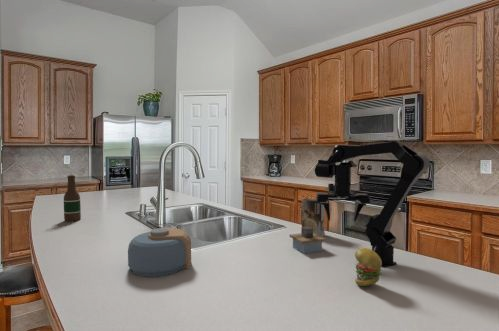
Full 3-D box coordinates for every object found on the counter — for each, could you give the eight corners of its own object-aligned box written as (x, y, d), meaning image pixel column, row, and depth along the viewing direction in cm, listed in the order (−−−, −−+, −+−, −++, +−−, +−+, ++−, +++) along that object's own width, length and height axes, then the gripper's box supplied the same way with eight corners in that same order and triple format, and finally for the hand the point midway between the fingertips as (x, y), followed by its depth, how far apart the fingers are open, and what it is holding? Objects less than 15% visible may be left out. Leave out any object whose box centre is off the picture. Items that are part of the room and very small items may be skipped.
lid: (325, 241, 120) (325, 229, 120) (302, 243, 117) (302, 232, 117) (311, 234, 130) (311, 223, 129) (289, 236, 126) (289, 225, 126)
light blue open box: (321, 250, 121) (321, 240, 121) (303, 253, 118) (304, 242, 118) (309, 244, 129) (309, 235, 129) (292, 247, 126) (292, 237, 125)
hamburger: (359, 278, 96) (360, 239, 95) (384, 285, 92) (386, 243, 91) (349, 287, 90) (350, 245, 89) (376, 294, 86) (377, 250, 85)
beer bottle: (64, 219, 173) (63, 175, 171) (81, 218, 176) (79, 174, 174) (63, 222, 165) (61, 176, 164) (80, 221, 169) (79, 175, 167)
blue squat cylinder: (201, 266, 106) (201, 230, 105) (142, 283, 92) (142, 242, 92) (173, 252, 120) (173, 220, 119) (119, 265, 107) (118, 229, 106)
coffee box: (325, 234, 144) (325, 199, 143) (321, 238, 138) (321, 201, 137) (305, 232, 148) (305, 197, 147) (301, 235, 142) (301, 199, 141)
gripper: (363, 177, 125) (362, 216, 126) (315, 176, 127) (314, 215, 128) (371, 180, 114) (370, 223, 115) (317, 179, 116) (317, 222, 117)
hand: (341, 220), depth 119 cm, fingers open, 9 cm apart
